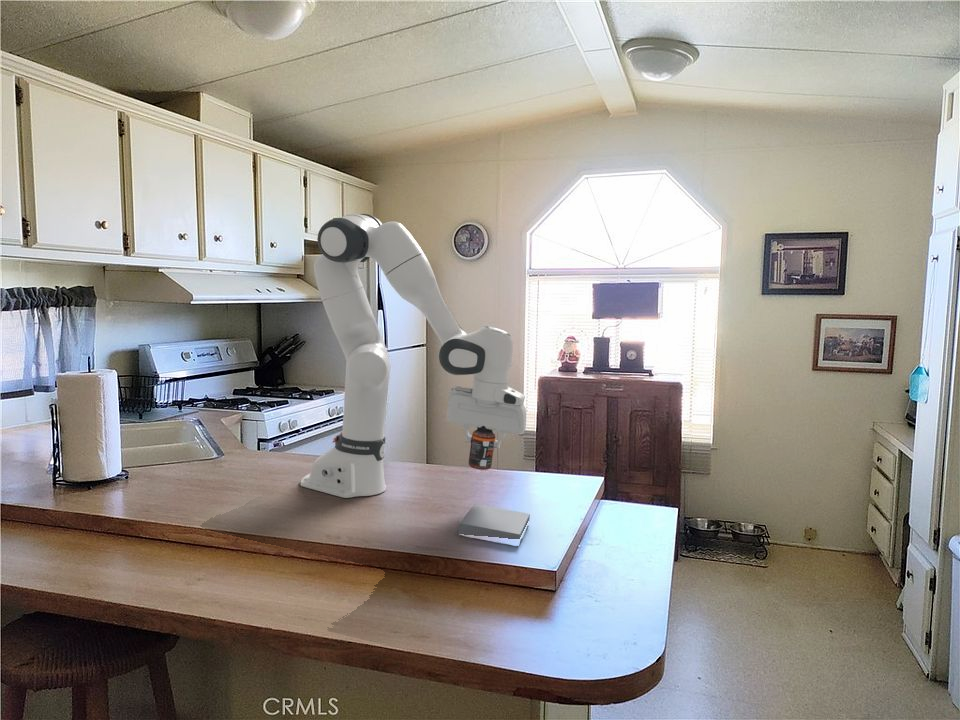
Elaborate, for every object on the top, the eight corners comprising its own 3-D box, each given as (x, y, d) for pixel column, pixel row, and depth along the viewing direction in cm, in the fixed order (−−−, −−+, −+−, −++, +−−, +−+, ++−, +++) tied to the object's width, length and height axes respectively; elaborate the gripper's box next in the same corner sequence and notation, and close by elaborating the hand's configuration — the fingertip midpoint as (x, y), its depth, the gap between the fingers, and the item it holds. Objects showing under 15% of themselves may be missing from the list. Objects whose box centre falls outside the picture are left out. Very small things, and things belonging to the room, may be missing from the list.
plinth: (458, 535, 146) (459, 523, 145) (473, 515, 159) (474, 503, 159) (518, 547, 143) (519, 534, 142) (528, 525, 156) (530, 513, 156)
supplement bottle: (488, 472, 159) (494, 428, 158) (465, 468, 161) (471, 424, 159) (493, 466, 165) (498, 423, 164) (470, 462, 166) (476, 419, 165)
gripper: (446, 386, 160) (439, 440, 161) (526, 400, 155) (519, 455, 157) (453, 383, 166) (446, 435, 167) (530, 396, 161) (523, 449, 163)
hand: (482, 445), depth 162 cm, fingers closed on supplement bottle, 6 cm apart
